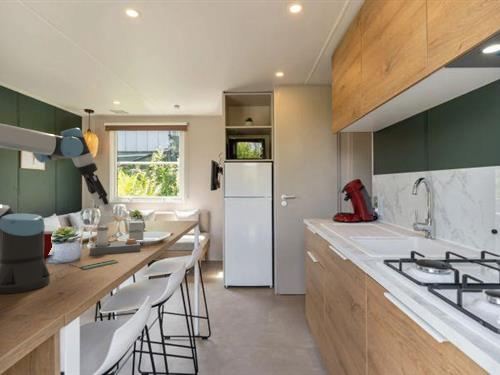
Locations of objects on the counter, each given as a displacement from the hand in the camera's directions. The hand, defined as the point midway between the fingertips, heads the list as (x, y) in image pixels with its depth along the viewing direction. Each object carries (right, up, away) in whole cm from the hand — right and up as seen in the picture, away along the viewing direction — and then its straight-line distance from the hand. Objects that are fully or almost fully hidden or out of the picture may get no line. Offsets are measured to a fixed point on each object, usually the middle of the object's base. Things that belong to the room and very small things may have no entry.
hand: (104, 208), depth 134 cm
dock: (0, -23, +13) cm, 26 cm away
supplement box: (+1, -23, +35) cm, 42 cm away
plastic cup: (-28, -23, +2) cm, 36 cm away
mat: (-1, -23, -8) cm, 24 cm away
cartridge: (-6, -22, +10) cm, 25 cm away
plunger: (+6, -20, +15) cm, 26 cm away
